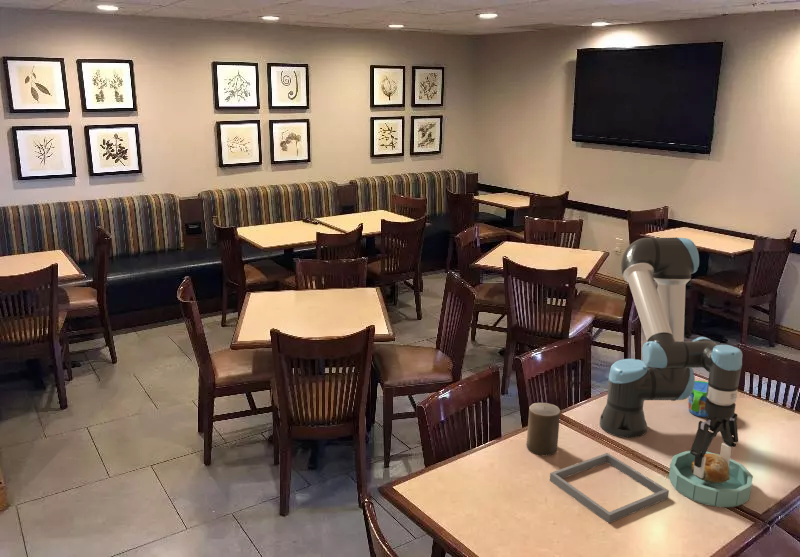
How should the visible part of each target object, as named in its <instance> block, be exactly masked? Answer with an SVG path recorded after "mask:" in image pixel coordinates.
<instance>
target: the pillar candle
mask: <svg viewBox="0 0 800 557" xmlns="http://www.w3.org/2000/svg"><path fill="white" fill-rule="evenodd" d="M560 417H561V409H560V408H559V406H557V405H555V404H552V403H550V402H549V403H547V402H535V403H532V404H531V405H529V409H528V421H527V422H528V423H527V431H526V432H527V434H526V435H527V436H526V448H527V450H528V451H529V452H531V453H532V452H533V454H535V455H537V456H538V455H539V456H546V455H547V456H550V455H551V456H552V455H554V454H556V453H557V451H558V444H559V443H558V441H559V431H560V430H559V428H560Z"/></svg>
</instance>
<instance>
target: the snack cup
mask: <svg viewBox="0 0 800 557" xmlns="http://www.w3.org/2000/svg"><path fill="white" fill-rule="evenodd" d="M707 387H708V381H703V380H695V384H694V389H693V391H692V393H691V395H690V396H689V397H688V398H687V401H688V411H689V413H691V414H692V415H694V416H696V417H701V418H702V417H703V418H705V417H706V418H707V417H708V414H707V413H706V411H705V403H706V398H707V396H706V394H707Z"/></svg>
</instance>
